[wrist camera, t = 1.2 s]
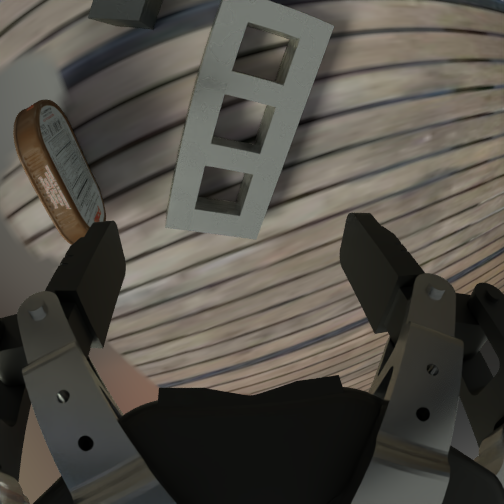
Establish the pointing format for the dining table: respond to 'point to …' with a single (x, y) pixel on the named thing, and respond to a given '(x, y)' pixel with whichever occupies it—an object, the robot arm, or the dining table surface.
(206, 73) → the rail
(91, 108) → the dining table surface
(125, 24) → the square peg
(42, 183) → the tin
